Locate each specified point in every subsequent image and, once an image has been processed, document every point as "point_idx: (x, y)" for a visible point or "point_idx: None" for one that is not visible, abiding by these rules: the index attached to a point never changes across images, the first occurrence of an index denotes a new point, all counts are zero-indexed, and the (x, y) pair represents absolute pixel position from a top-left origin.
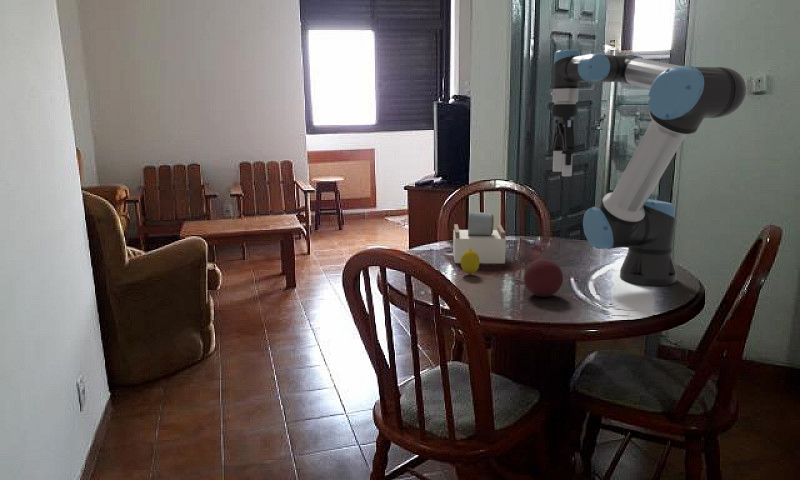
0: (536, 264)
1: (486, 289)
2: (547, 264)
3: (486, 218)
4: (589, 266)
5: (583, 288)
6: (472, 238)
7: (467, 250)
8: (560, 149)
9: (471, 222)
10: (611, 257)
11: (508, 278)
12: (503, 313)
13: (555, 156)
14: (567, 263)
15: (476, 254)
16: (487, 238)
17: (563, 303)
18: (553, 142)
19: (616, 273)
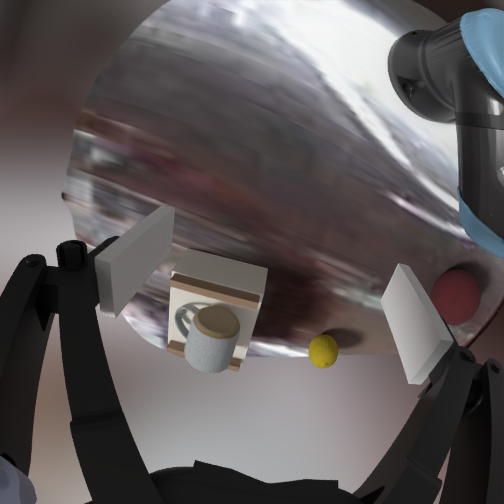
0: (465, 321)
1: (392, 335)
2: (475, 310)
3: (229, 346)
4: (328, 119)
5: (444, 211)
6: (246, 343)
7: (321, 367)
8: (90, 276)
9: (230, 362)
10: (263, 39)
11: (359, 295)
12: (461, 337)
13: (131, 286)
14: (295, 151)
15: (332, 355)
16: (251, 323)
17: (474, 270)
18: (44, 338)
19: (388, 100)
